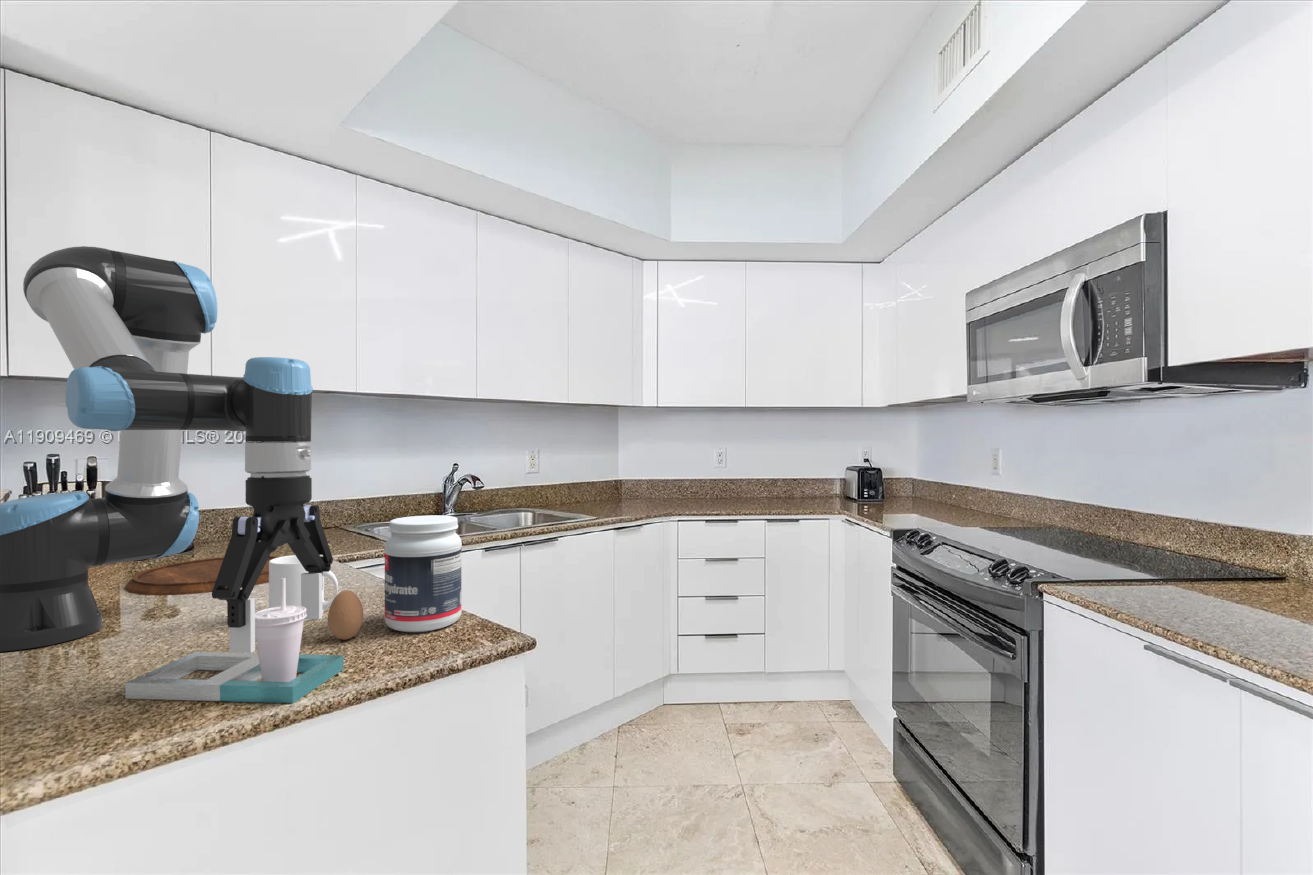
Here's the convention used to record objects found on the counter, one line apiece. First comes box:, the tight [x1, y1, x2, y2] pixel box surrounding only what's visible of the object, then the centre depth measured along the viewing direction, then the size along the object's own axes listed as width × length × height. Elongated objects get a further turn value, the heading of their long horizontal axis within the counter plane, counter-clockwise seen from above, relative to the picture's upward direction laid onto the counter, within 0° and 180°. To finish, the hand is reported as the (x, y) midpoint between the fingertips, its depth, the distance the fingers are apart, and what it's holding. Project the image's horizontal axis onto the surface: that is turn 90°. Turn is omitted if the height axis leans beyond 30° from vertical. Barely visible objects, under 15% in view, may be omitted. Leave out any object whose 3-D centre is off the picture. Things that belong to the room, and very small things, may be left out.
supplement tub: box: [384, 514, 463, 633], centre depth 108 cm, size 13×13×18 cm
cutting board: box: [125, 555, 280, 596], centre depth 143 cm, size 32×32×3 cm
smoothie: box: [255, 578, 307, 682], centre depth 82 cm, size 6×6×14 cm
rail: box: [124, 651, 345, 704], centre depth 82 cm, size 22×11×2 cm, turn 86°
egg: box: [327, 589, 364, 641], centre depth 100 cm, size 5×5×8 cm
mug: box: [268, 554, 339, 623], centre depth 112 cm, size 9×12×11 cm
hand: (279, 634), depth 82 cm, fingers open, 13 cm apart
